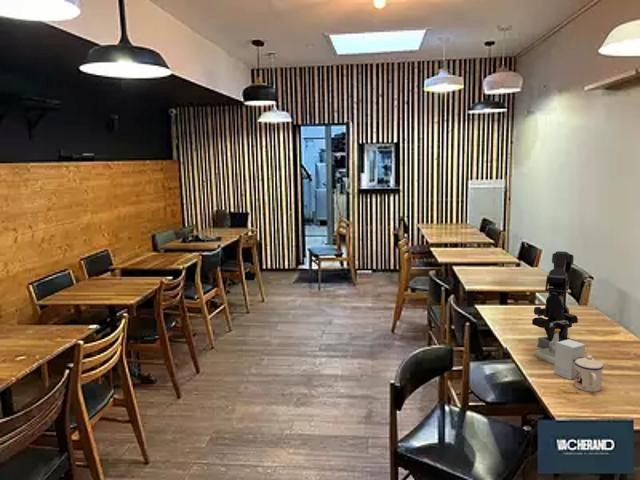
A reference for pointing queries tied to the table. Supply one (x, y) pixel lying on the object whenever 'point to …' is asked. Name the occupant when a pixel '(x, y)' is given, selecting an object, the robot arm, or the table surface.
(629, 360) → the table surface
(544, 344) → the bracket
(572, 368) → the supplement box
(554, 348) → the pin
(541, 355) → the tray
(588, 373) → the teacup with lid
